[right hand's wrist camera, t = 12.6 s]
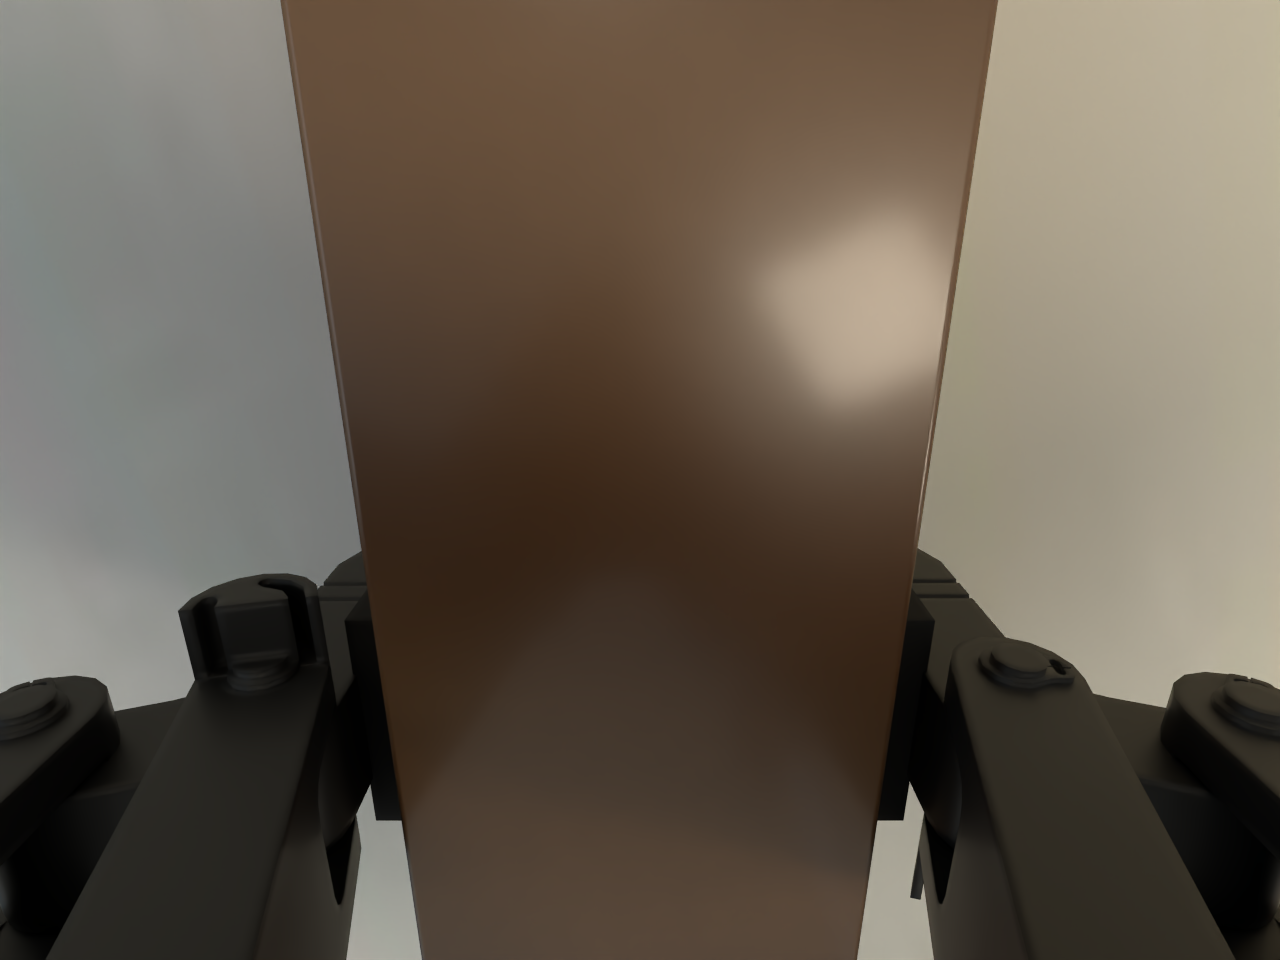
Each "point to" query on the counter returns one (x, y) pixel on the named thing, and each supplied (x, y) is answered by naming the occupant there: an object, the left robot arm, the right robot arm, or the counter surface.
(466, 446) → the bar
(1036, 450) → the counter surface
